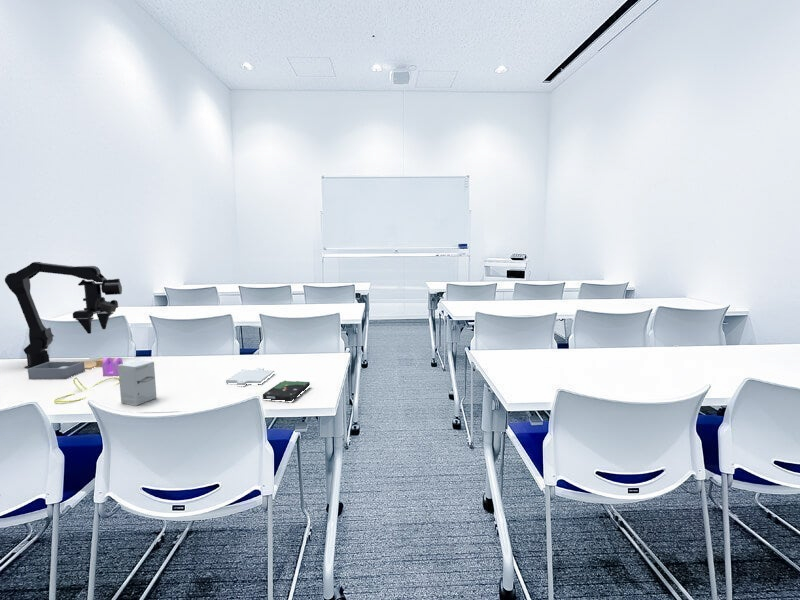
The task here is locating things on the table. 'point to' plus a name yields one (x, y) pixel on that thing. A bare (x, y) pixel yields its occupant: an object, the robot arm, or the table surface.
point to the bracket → (111, 366)
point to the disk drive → (286, 390)
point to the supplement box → (137, 382)
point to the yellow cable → (80, 390)
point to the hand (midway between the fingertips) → (96, 331)
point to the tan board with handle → (93, 363)
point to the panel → (56, 370)
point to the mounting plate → (250, 376)
